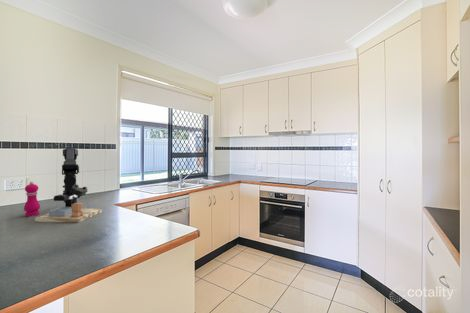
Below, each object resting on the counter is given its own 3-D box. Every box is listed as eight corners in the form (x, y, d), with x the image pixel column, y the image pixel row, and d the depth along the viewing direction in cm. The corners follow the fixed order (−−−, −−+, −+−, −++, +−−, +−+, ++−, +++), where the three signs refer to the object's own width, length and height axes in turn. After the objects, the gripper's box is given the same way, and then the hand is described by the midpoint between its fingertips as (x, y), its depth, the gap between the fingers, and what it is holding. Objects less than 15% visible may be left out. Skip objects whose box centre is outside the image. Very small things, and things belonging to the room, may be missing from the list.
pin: (76, 218, 129) (76, 202, 129) (82, 218, 129) (82, 202, 129) (71, 220, 126) (71, 204, 125) (77, 220, 126) (77, 204, 125)
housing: (61, 211, 135) (61, 206, 135) (76, 211, 135) (76, 206, 135) (48, 216, 126) (48, 210, 126) (64, 216, 126) (64, 210, 126)
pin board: (64, 211, 143) (64, 208, 143) (101, 212, 142) (101, 208, 142) (35, 221, 123) (35, 218, 123) (78, 222, 122) (78, 218, 122)
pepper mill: (30, 217, 131) (29, 182, 131) (20, 216, 133) (19, 182, 132) (43, 213, 138) (42, 180, 138) (33, 213, 140) (33, 180, 139)
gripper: (72, 186, 127) (72, 214, 127) (93, 181, 145) (94, 205, 146) (52, 186, 127) (53, 213, 127) (76, 181, 145) (77, 205, 146)
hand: (70, 209), depth 137 cm, fingers closed
